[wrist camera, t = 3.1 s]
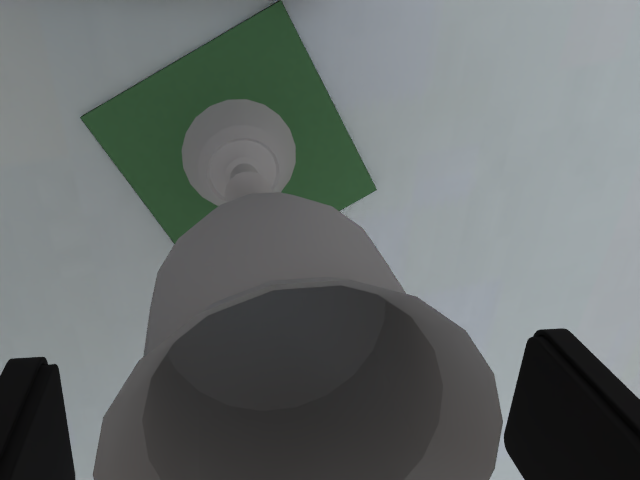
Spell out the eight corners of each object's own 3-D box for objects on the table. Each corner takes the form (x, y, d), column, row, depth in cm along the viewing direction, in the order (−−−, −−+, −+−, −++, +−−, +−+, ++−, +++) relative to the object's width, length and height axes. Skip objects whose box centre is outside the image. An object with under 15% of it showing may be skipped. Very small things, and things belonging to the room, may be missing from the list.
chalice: (139, 87, 24) (19, 341, 8) (301, 58, 24) (503, 233, 8) (183, 245, 27) (164, 653, 11) (325, 215, 28) (502, 556, 12)
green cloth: (205, 284, 28) (205, 286, 28) (81, 116, 24) (80, 117, 24) (375, 188, 28) (376, 189, 28) (280, 0, 23) (281, 0, 23)
